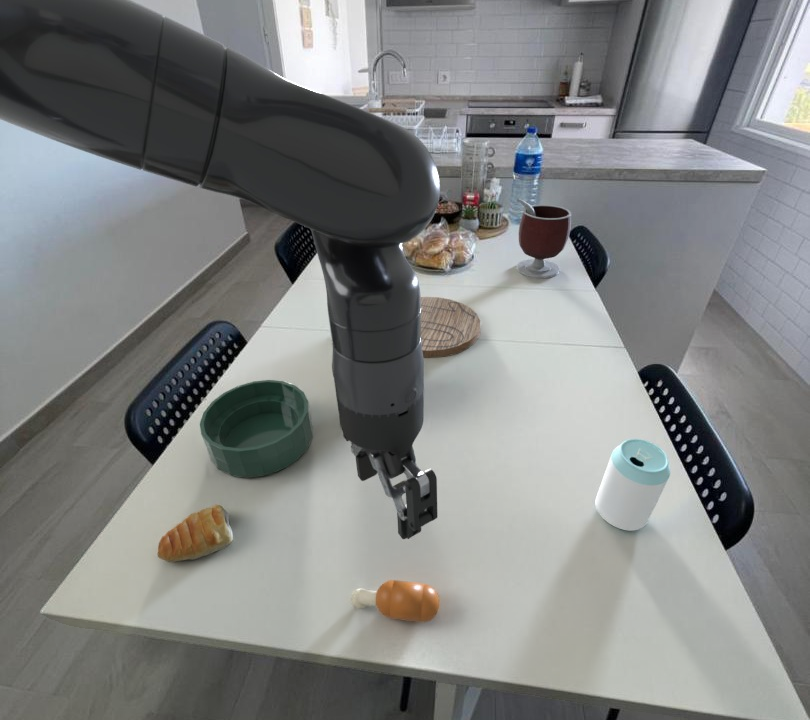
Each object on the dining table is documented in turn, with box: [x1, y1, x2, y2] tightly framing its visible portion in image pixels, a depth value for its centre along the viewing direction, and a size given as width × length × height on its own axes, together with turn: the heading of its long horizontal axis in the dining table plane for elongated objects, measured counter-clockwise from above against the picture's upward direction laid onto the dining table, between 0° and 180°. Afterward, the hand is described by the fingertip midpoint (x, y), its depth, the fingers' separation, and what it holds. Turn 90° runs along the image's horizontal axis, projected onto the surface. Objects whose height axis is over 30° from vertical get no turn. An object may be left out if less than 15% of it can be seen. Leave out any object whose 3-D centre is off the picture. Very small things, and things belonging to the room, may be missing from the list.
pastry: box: [157, 504, 234, 563], centre depth 61 cm, size 9×7×4 cm
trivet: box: [421, 296, 481, 359], centre depth 106 cm, size 25×25×2 cm
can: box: [594, 438, 671, 532], centre depth 61 cm, size 7×7×12 cm
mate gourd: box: [516, 198, 572, 279], centre depth 128 cm, size 16×14×20 cm
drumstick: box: [350, 579, 441, 623], centre depth 53 cm, size 11×4×4 cm, turn 82°
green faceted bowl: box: [199, 379, 314, 479], centre depth 76 cm, size 17×17×6 cm
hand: (387, 502), depth 47 cm, fingers open, 8 cm apart
